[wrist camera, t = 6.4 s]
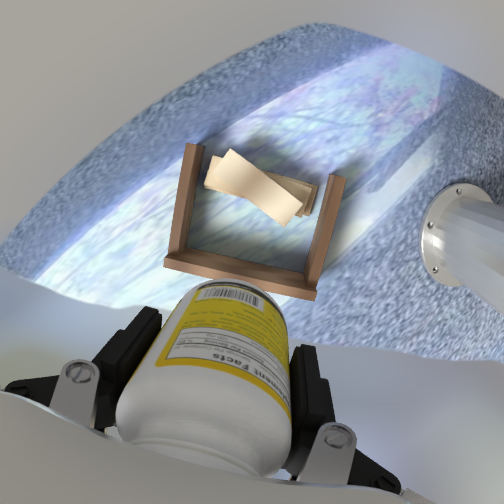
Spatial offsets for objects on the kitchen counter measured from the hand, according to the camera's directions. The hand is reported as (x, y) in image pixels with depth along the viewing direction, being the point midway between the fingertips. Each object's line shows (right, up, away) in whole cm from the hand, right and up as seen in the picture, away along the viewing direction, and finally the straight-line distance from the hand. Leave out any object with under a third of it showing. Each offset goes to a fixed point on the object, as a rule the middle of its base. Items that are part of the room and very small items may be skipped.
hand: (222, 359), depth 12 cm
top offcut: (+2, +10, +17) cm, 20 cm away
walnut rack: (+2, +9, +19) cm, 21 cm away
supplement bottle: (0, +1, +3) cm, 3 cm away
